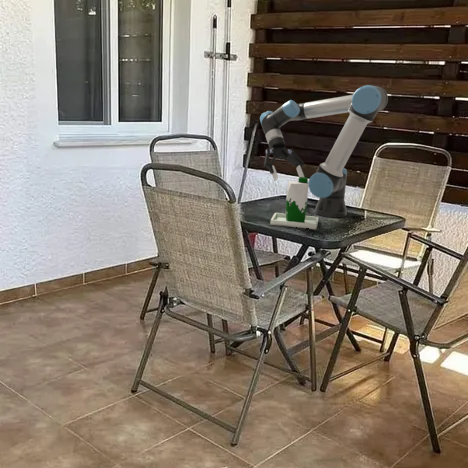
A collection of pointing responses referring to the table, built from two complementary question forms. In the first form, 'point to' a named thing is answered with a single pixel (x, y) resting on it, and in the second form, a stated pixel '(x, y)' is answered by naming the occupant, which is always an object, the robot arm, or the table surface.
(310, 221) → the tray
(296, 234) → the table surface
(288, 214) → the soya milk
